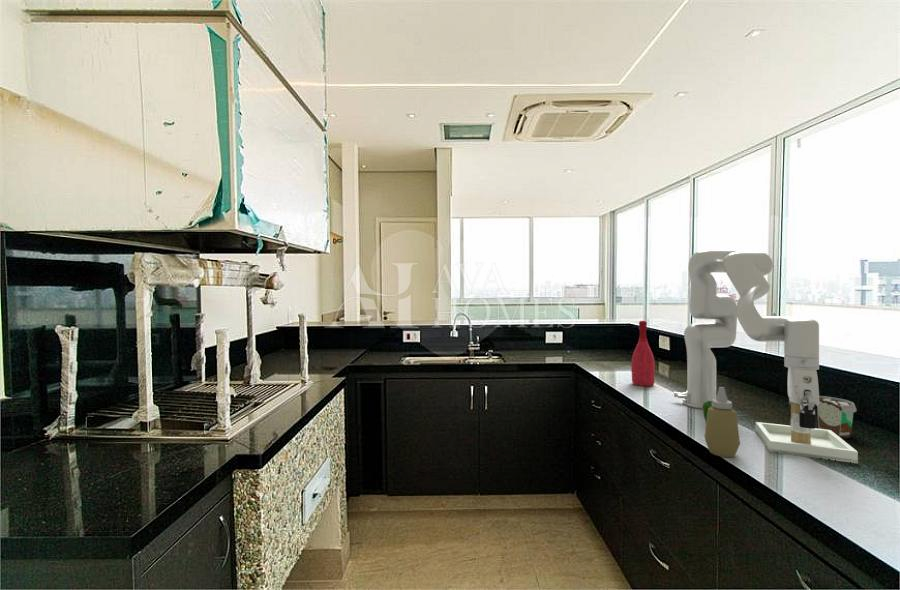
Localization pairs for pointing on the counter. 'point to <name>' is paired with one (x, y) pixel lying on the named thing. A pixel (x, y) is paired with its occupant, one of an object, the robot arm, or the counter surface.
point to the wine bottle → (643, 360)
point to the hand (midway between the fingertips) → (801, 422)
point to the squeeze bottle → (722, 427)
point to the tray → (821, 444)
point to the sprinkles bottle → (796, 431)
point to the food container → (836, 415)
